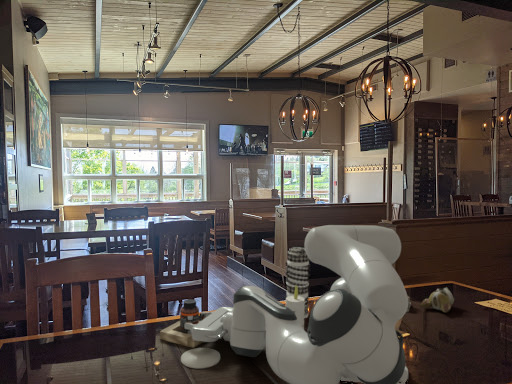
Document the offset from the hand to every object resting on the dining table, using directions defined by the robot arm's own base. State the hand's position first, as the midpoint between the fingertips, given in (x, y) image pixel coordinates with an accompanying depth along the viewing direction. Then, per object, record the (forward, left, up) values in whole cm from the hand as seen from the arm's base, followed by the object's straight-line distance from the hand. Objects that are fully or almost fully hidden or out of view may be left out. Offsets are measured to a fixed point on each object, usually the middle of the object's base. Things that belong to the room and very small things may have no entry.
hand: (193, 319), depth 124 cm
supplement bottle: (+2, -1, -6) cm, 7 cm away
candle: (-26, -22, -6) cm, 34 cm away
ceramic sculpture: (-69, -68, -6) cm, 98 cm away
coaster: (-10, +10, -6) cm, 15 cm away
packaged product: (-50, -63, -7) cm, 81 cm away
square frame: (+2, -1, -6) cm, 6 cm away
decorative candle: (-22, -35, -6) cm, 42 cm away
